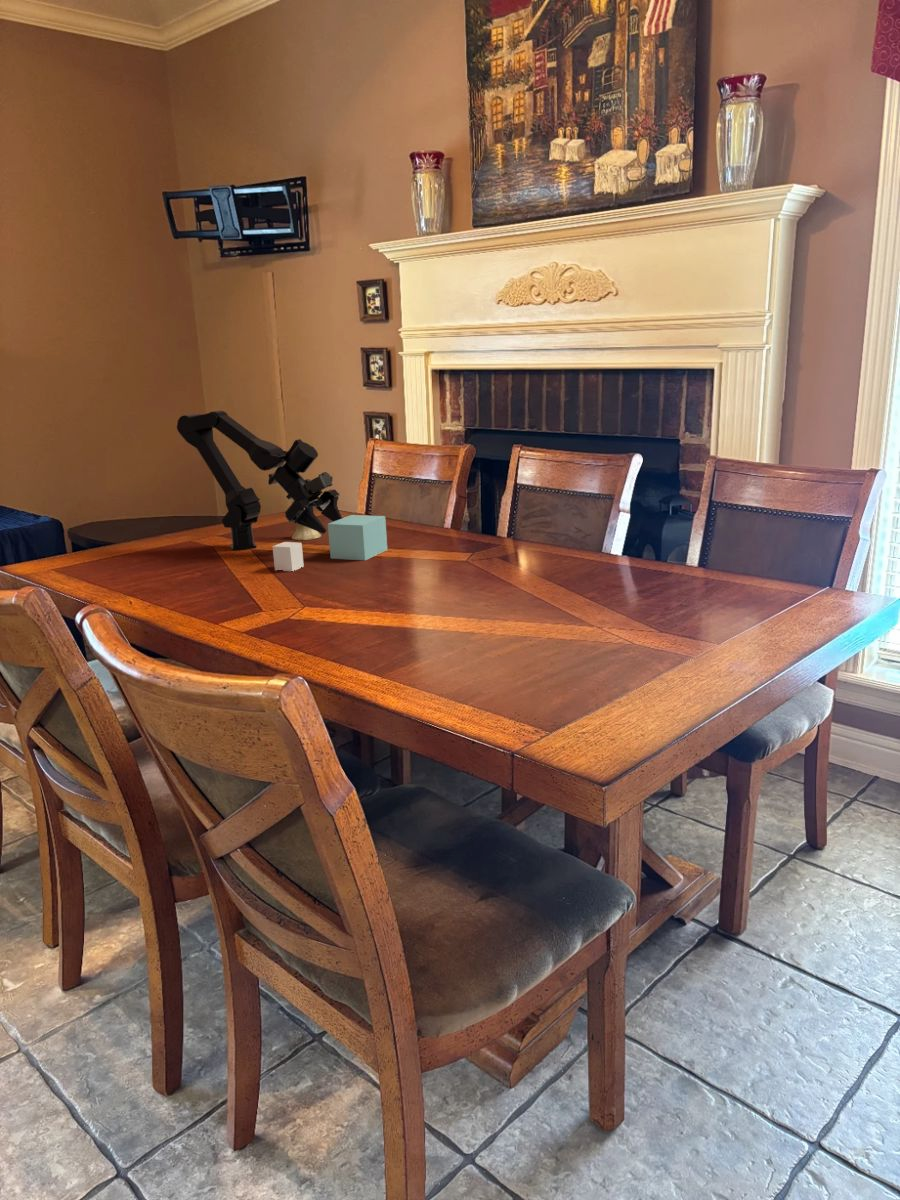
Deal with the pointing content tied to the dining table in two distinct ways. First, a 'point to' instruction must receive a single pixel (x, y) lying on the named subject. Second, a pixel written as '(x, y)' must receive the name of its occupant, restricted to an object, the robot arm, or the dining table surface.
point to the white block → (288, 556)
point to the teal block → (357, 537)
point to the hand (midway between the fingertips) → (334, 528)
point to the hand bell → (305, 533)
